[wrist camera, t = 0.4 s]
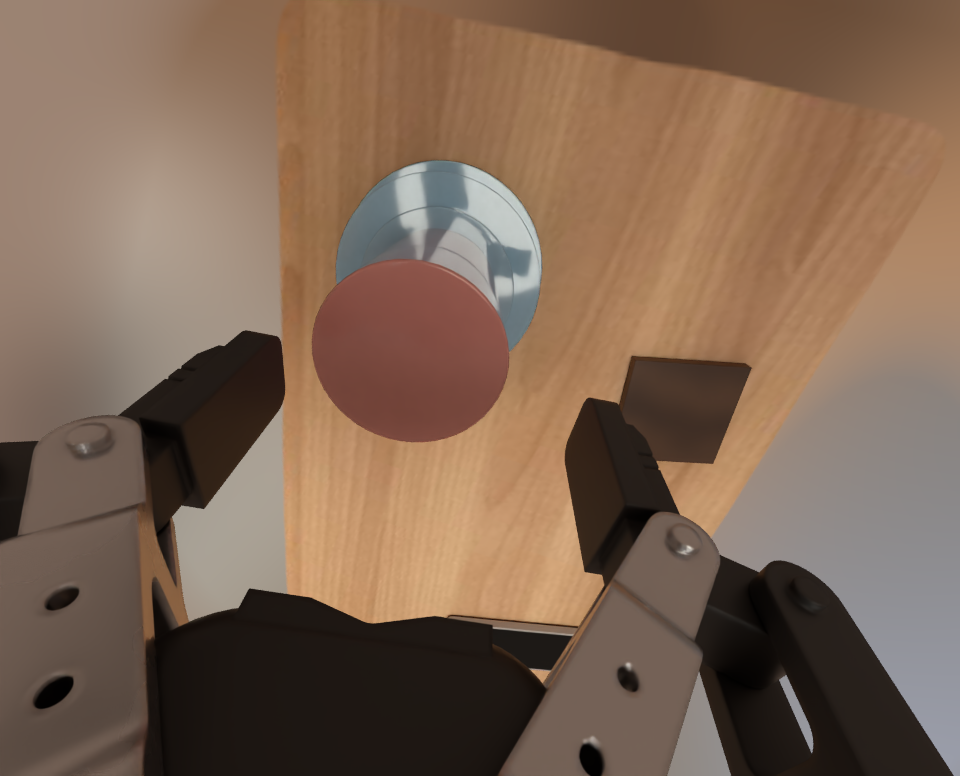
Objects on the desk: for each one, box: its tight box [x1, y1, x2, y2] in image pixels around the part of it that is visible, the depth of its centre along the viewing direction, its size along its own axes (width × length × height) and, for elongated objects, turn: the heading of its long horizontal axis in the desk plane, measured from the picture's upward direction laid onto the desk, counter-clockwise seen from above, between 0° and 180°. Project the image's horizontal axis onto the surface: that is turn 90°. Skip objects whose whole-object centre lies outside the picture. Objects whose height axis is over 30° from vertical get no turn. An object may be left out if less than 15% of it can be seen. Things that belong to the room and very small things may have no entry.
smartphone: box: [448, 616, 577, 671], centre depth 46 cm, size 7×16×1 cm, turn 81°
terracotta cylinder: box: [312, 228, 509, 442], centre depth 18 cm, size 6×6×10 cm
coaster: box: [619, 357, 751, 464], centre depth 33 cm, size 9×9×1 cm
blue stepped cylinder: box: [336, 160, 542, 352], centre depth 25 cm, size 13×13×7 cm
